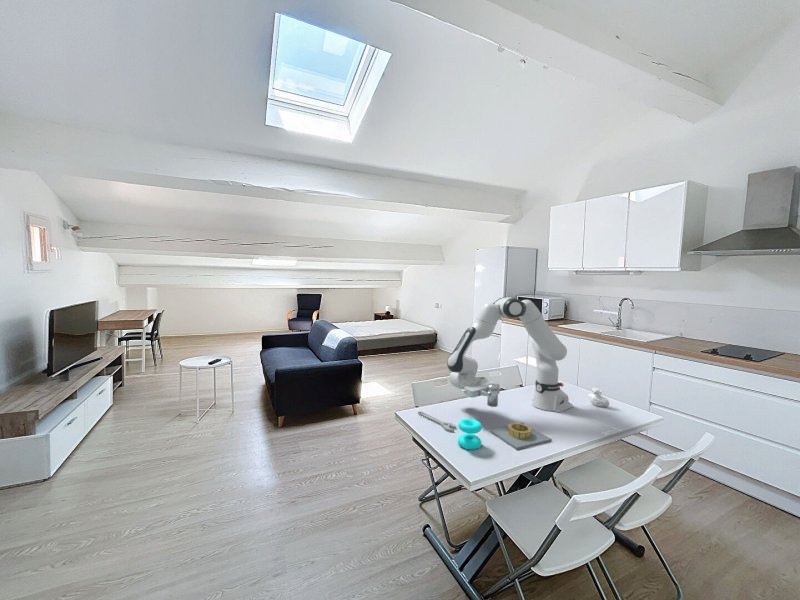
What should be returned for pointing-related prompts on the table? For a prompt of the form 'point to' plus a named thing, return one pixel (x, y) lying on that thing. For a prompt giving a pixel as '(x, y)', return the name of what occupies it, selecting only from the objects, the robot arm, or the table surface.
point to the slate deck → (519, 443)
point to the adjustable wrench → (439, 422)
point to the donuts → (469, 434)
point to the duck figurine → (598, 398)
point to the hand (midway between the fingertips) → (494, 393)
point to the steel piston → (492, 395)
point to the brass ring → (519, 431)
